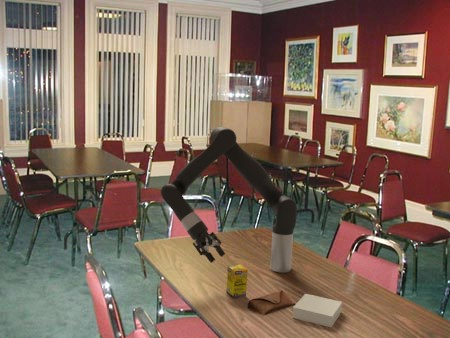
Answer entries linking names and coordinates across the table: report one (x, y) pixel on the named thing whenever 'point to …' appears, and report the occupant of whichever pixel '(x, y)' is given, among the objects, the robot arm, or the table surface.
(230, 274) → the supplement box
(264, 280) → the table surface
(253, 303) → the sunglasses case
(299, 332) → the table surface
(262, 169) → the robot arm
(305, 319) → the plate
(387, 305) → the table surface
